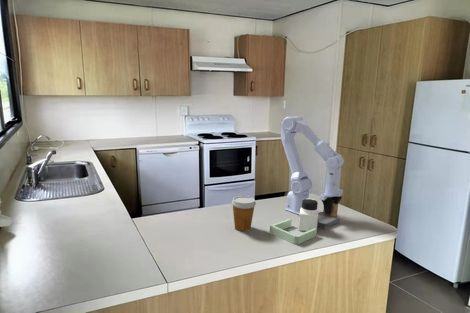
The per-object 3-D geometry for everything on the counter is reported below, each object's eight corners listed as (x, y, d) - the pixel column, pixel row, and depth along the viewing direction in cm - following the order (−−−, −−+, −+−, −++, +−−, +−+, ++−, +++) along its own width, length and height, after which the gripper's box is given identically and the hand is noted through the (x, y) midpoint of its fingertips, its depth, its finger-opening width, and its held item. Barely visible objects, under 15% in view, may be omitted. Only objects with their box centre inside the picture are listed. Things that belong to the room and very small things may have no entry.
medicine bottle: (316, 232, 127) (319, 203, 124) (298, 230, 128) (300, 201, 126) (316, 225, 134) (319, 198, 131) (299, 223, 135) (301, 196, 133)
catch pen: (269, 232, 125) (270, 225, 125) (289, 225, 133) (289, 218, 133) (296, 245, 116) (297, 237, 115) (316, 236, 124) (316, 228, 123)
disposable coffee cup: (257, 225, 132) (258, 197, 129) (250, 235, 123) (252, 205, 121) (235, 222, 135) (236, 194, 132) (227, 230, 126) (228, 201, 124)
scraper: (306, 222, 137) (307, 206, 136) (322, 215, 145) (323, 200, 144) (324, 229, 131) (325, 212, 129) (340, 221, 139) (342, 205, 138)
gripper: (331, 187, 130) (328, 219, 133) (350, 182, 140) (347, 211, 142) (316, 183, 135) (314, 214, 138) (335, 178, 145) (332, 207, 148)
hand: (329, 212), depth 141 cm, fingers open, 3 cm apart
